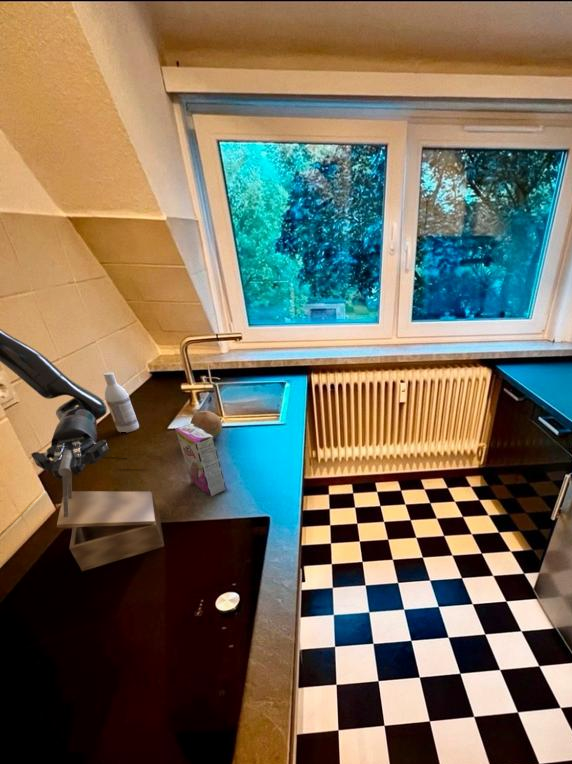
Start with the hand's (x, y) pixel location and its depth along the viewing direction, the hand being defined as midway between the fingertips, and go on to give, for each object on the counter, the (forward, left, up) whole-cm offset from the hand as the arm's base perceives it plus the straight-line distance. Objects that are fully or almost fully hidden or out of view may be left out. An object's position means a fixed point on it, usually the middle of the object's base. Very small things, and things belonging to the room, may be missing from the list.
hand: (66, 472), depth 72 cm
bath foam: (+33, +61, -21) cm, 72 cm away
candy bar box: (+29, +6, -21) cm, 36 cm away
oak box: (+4, +1, -21) cm, 21 cm away
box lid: (+4, +1, -12) cm, 12 cm away
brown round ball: (+46, +31, -21) cm, 59 cm away
